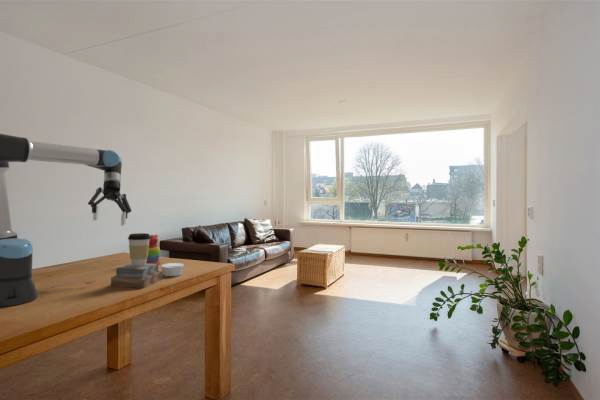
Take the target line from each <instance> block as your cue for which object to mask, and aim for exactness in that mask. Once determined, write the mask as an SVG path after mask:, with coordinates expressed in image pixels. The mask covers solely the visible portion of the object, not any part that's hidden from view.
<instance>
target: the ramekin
mask: <svg viewBox="0 0 600 400" xmlns="http://www.w3.org/2000/svg"><path fill="white" fill-rule="evenodd" d="M184 266H185V265H184V263H181V262H168V263H163V264H161V266H160V267H161V271H163V275H162V276H164V277H167V276H174V277H179V276H181V275H182V274H183V272H184ZM178 275H179V276H178Z"/></svg>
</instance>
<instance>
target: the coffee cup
mask: <svg viewBox="0 0 600 400" xmlns="http://www.w3.org/2000/svg"><path fill="white" fill-rule="evenodd" d="M149 235H150V233H145V232H144V233H143V232H140V233H138V232H137V233H130V234H129V235H128V237H127V240H128V248H129V249H128V250H129V258H130V262H131V265H132V267H143V266H146V261H147V256H148V249H149V240H150V236H149Z"/></svg>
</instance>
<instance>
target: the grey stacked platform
mask: <svg viewBox="0 0 600 400" xmlns="http://www.w3.org/2000/svg"><path fill="white" fill-rule="evenodd" d="M115 269H116V270H115V271H116V273H115V274H116V275H114V276H111V277H110V287H121V288H134V287H136V288H137V289H144V288H147V287H149V286H151V285H153V284H156V283H157V281H158V282H159V280H160V281H161V279H162V280H163V276H164V275H163V271H162V270H159V265H158V264H153V263H146V266H143V267H132V265H131V263H128V264H125V265H122V266H119V267H115ZM155 282H156V283H155ZM136 288H135V289H136Z"/></svg>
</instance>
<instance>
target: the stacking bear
mask: <svg viewBox="0 0 600 400" xmlns="http://www.w3.org/2000/svg"><path fill="white" fill-rule="evenodd" d="M149 236H150V240H149V249H148V256H147V261H146V263H153V264H158V266H159V265H160V264H161V261H160V257H161V250H160V246H159V245H158V242H159V238H158V236H159V235H158V234H151V235H150V234H149Z"/></svg>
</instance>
